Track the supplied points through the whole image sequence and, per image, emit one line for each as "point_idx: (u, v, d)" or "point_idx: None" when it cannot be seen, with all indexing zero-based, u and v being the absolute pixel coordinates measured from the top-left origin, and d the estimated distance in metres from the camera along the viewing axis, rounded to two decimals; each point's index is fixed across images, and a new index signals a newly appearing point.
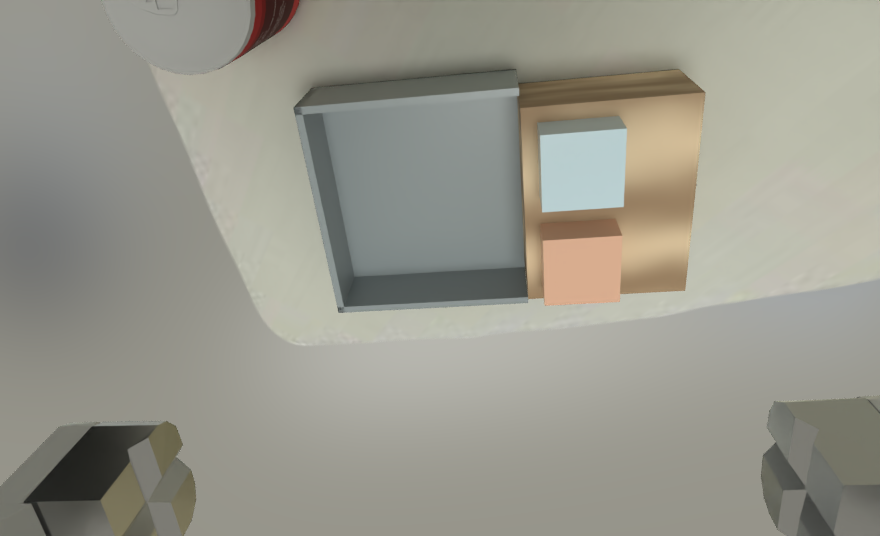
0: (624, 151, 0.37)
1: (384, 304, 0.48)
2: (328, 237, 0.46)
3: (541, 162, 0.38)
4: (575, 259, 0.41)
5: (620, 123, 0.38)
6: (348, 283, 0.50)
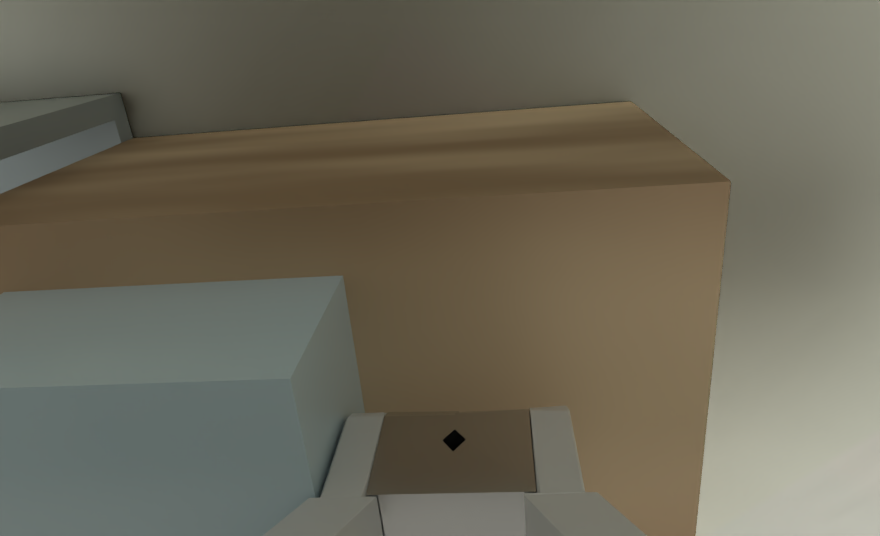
0: (305, 486, 0.07)
1: None
2: None
3: None
4: None
5: (298, 330, 0.07)
6: None
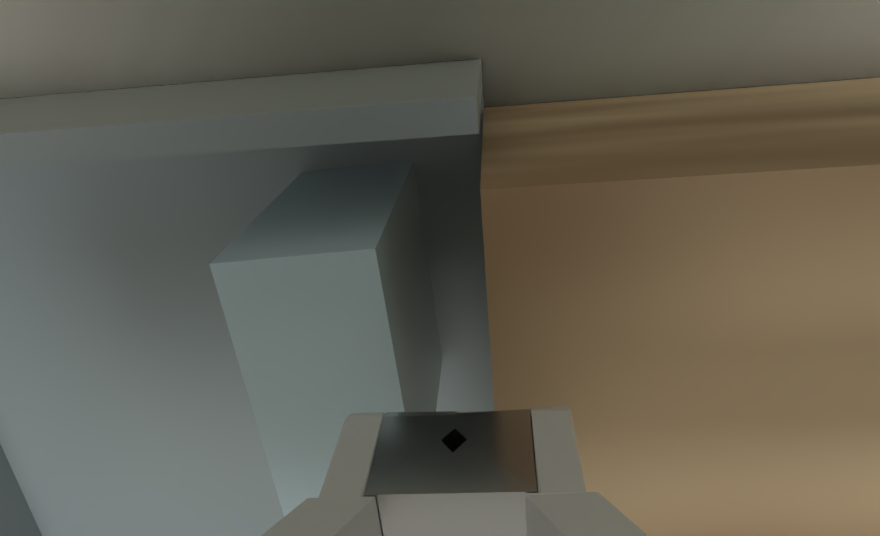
0: (235, 342, 0.10)
1: None
2: None
3: None
4: None
5: (278, 252, 0.09)
6: None
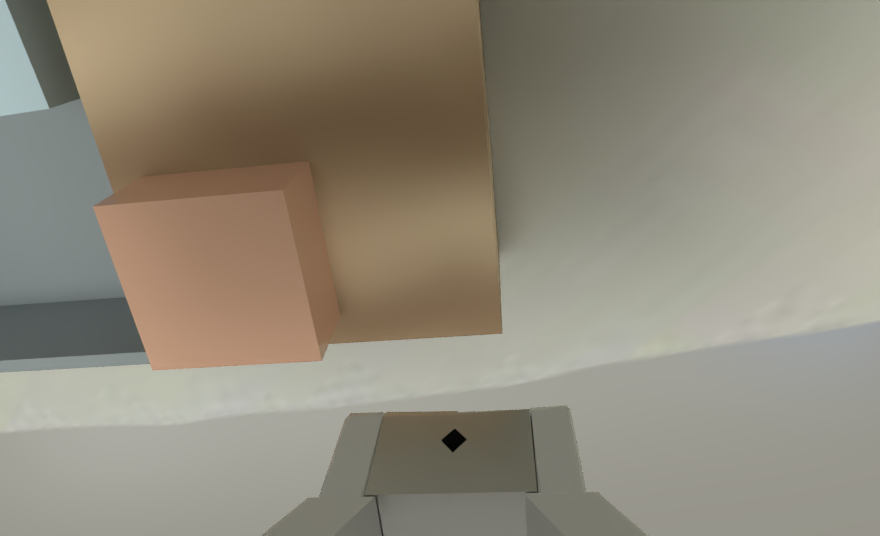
0: None
1: None
2: None
3: None
4: (185, 256, 0.16)
5: None
6: None
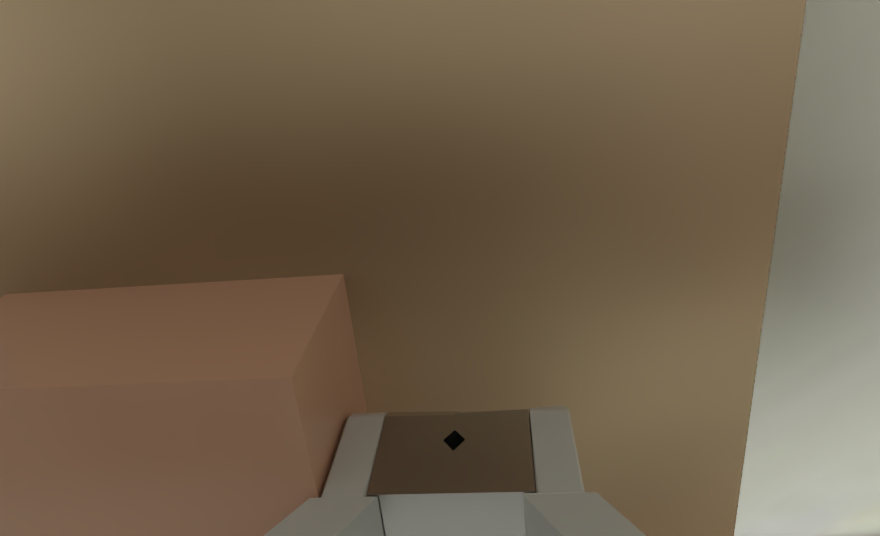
0: None
1: None
2: None
3: None
4: (67, 501, 0.07)
5: None
6: None
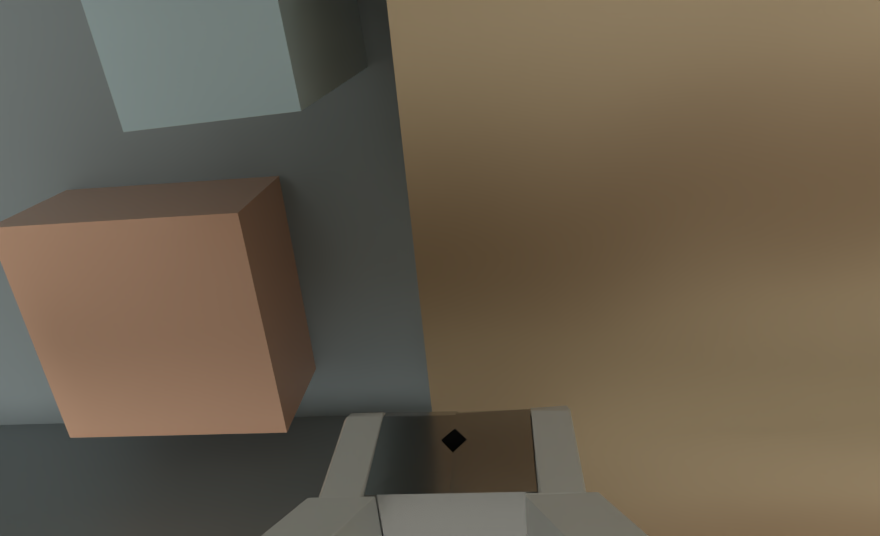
0: None
1: None
2: None
3: None
4: None
5: None
6: None
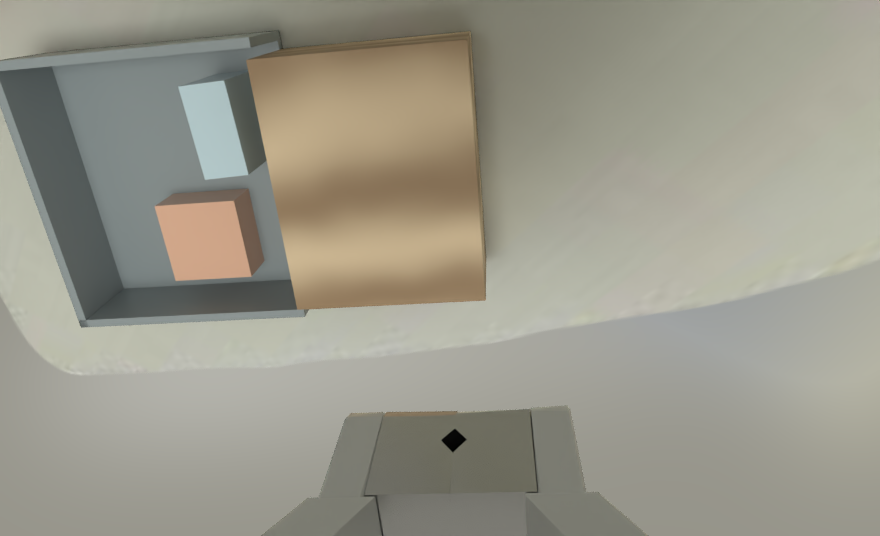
0: (186, 113, 0.33)
1: (135, 316, 0.39)
2: (53, 230, 0.37)
3: None
4: None
5: (197, 83, 0.33)
6: (104, 293, 0.41)
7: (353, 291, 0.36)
